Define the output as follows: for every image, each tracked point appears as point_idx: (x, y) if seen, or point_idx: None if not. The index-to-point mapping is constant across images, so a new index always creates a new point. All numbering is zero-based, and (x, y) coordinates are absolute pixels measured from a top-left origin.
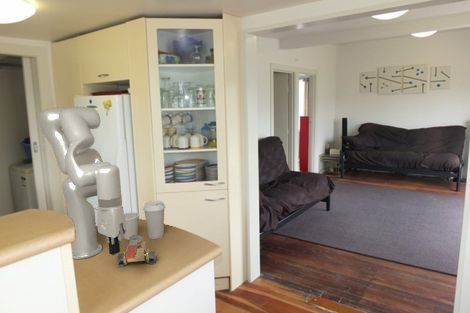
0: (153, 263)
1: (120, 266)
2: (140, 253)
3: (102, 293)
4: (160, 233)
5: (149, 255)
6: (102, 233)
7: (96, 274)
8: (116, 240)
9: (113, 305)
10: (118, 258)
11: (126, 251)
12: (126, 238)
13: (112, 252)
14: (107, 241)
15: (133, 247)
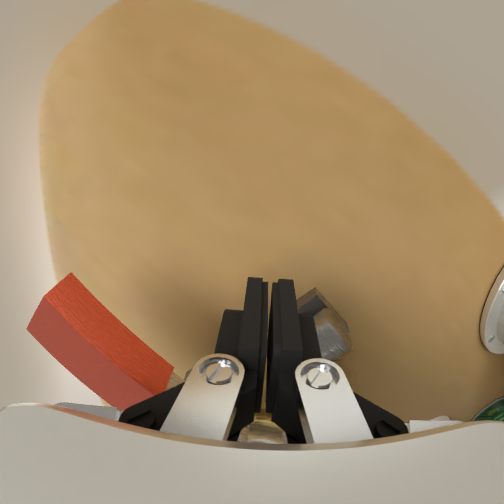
0: (189, 371)
1: (306, 296)
2: None
3: (161, 77)
4: None
5: None
6: (405, 456)
7: (365, 181)
8: (146, 405)
9: (57, 72)
10: (323, 322)
11: (64, 319)
12: (437, 420)
13: (246, 292)
14: (335, 369)
15: (100, 384)
